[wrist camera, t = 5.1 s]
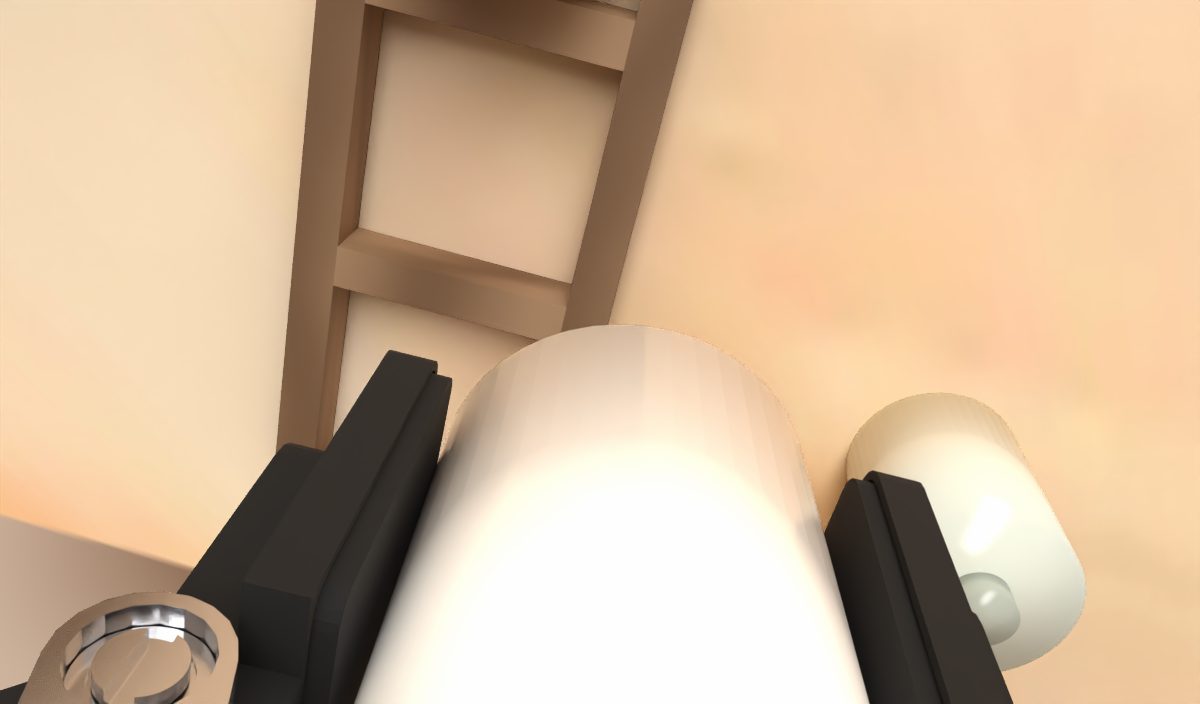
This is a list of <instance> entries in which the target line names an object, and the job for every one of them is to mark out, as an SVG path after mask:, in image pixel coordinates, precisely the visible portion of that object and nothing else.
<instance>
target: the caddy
mask: <svg viewBox="0 0 1200 704" xmlns="http://www.w3.org/2000/svg"><path fill="white" fill-rule="evenodd" d="M692 3H693V0H640V4H639V8H638V12H635V11H632V10H628V9H624V8H620V7H617V6H613V5H609V4H605V3H601V2H598V1H594V0H316V10H315V22H314V33H313V44H312V55H311V66H310V78H309V89H308V100H307V111H306V122H305V133H304V145H303V156H302V167H301V178H300V189H299V200H298V212H297V223H296V234H295V245H294V256H293V267H292V279H291V290H290V301H289V312H288V323H287V334H286V346H285V357H284V368H283V379H282V390H281V401H280V413H279V424H278V435H277V446H276V453H277V452H278V451H279V450H280V449H281V447H282V446H283V445H284V444H287V443H294V444H298V445H302V446H306V447H311V448H315V449H319V450H323V451H325V450H326V448H327V446H328V445H329V443H330V442H331V440H332V435H333V427H334V419H335V411H336V402H337V394H338V386H339V378H340V370H341V361H342V353H343V345H344V337H345V328H346V320H347V312H348V304H349V296H350V290H352V291H356V292H359V293H363V294H367V295H371V296H375V297H378V298H382V299H386V300H390V301H393V302H397V303H401V304H405V305H408V306H412V307H416V308H420V309H423V310H427V311H431V312H435V313H439V314H442V315H446V316H450V317H454V318H457V319H461V320H465V321H469V322H472V323H476V324H480V325H484V326H487V327H491V328H495V329H499V330H502V331H506V332H510V333H514V334H518V335H521V336H525V337H529V338H533V339H536V340H541V339H543V338H546V337H550V336H553V335H556V334H559V333H562V332H565V331H569V330H574V329H579V328H585V327H590V326H600V325H607V324H608V321H609V317H610V313H611V309H612V306H613V302H614V298H615V294H616V290H617V287H618V283H619V279H620V275H621V272H622V268H623V264H624V260H625V256H626V253H627V249H628V245H629V241H630V238H631V234H632V230H633V226H634V222H635V219H636V215H637V211H638V207H639V204H640V200H641V196H642V192H643V188H644V185H645V181H646V177H647V173H648V170H649V166H650V162H651V158H652V154H653V151H654V147H655V143H656V139H657V135H658V132H659V128H660V124H661V120H662V117H663V113H664V109H665V105H666V101H667V98H668V94H669V90H670V86H671V83H672V79H673V75H674V71H675V67H676V64H677V60H678V56H679V52H680V49H681V45H682V41H683V37H684V33H685V30H686V26H687V22H688V18H689V15H690V11H691V7H692ZM384 8H386V9H389V10H393V11H397V12H401V13H404V14H408V15H412V16H416V17H420V18H423V19H427V20H431V21H435V22H438V23H442V24H446V25H450V26H454V27H457V28H461V29H465V30H469V31H472V32H476V33H480V34H484V35H487V36H491V37H495V38H499V39H503V40H506V41H510V42H514V43H518V44H521V45H525V46H529V47H533V48H537V49H540V50H544V51H548V52H552V53H555V54H559V55H563V56H567V57H570V58H574V59H578V60H582V61H586V62H589V63H593V64H597V65H601V66H604V67H608V68H612V69H616V70H620V71H623V75H622V79H621V83H620V87H619V91H618V95H617V100H616V104H615V108H614V112H613V116H612V120H611V125H610V129H609V133H608V137H607V141H606V145H605V150H604V154H603V158H602V162H601V166H600V170H599V175H598V179H597V183H596V187H595V191H594V195H593V200H592V204H591V208H590V212H589V216H588V220H587V225H586V229H585V233H584V237H583V241H582V245H581V250H580V254H579V258H578V262H577V266H576V270H575V275H574V279H573V283H572V284H568V283H564V282H561V281H557V280H553V279H549V278H546V277H542V276H538V275H534V274H531V273H527V272H523V271H519V270H515V269H512V268H508V267H504V266H500V265H497V264H493V263H489V262H485V261H482V260H478V259H474V258H470V257H467V256H463V255H459V254H455V253H451V252H448V251H444V250H440V249H436V248H433V247H429V246H425V245H421V244H418V243H414V242H410V241H406V240H402V239H399V238H395V237H391V236H387V235H384V234H380V233H376V232H372V231H369V230H365V229H361V228H358V222H359V213H360V205H361V197H362V189H363V180H364V172H365V164H366V156H367V147H368V139H369V131H370V123H371V115H372V106H373V98H374V90H375V82H376V73H377V65H378V57H379V49H380V41H381V32H382V24H383V16H384Z"/></svg>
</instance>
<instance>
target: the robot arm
mask: <svg viewBox="0 0 1200 704" xmlns="http://www.w3.org/2000/svg"><path fill="white" fill-rule="evenodd" d="M437 369H438V364H437V361H433V360H429V359H425V358H421V357H417V356H413V355H409V354H405V353H401V352H397V351H393V350H389V351H388V352H387V353H386V355H385V356H384V358H383V360H382V361H381V363H380V364H379V366H378V368H377V369H376V371H375V372H374V374H373V375H372V377H371V379H370V380H369V382H368V383H367V385H366V386H365V388H364V390H363V391H362V393H361V394H360V396H359V398H358V399H357V401H356V402H355V404H354V405H353V407H352V409H351V410H350V412H349V413H348V415H347V416H346V418H345V420H344V421H343V423H342V424H341V426H340V428H339V429H338V431H337V432H336V434H335V435H334V437H333V439H332V440H331V442H330V443H329V445H328V446H327V448H326V450H325V451H323V450H319V449H315V448H311V447H306V446H302V445H298V444H294V443H287V444H284V445H283V446H282V447H281V449H280V450H279V451H278V452H277V453H276V455H275V456H274V457H273V459H272V460H271V462H270V463H269V464H268V466H267V467H266V469H265V470H264V471H263V473H262V474H261V476H260V477H259V478H258V480H257V481H256V483H255V484H254V485H253V487H252V488H251V490H250V491H249V492H248V494H247V495H246V497H245V498H244V499H243V501H242V502H241V504H240V505H239V506H238V508H237V509H236V511H235V512H234V513H233V515H232V516H231V518H230V519H229V520H228V522H227V523H226V525H225V526H224V527H223V529H222V530H221V532H220V533H219V534H218V536H217V537H216V539H215V540H214V541H213V543H212V544H211V546H210V547H209V548H208V550H207V551H206V553H205V554H204V555H203V557H202V558H201V560H200V561H199V562H198V564H197V565H196V567H195V568H194V569H193V571H192V572H191V574H190V575H189V576H188V578H187V579H186V581H185V582H184V584H183V585H182V586H181V588H180V589H179V590H178V592H177V593H176V594H175V593H169V592H141V593H132V594H128V595H124V596H119V597H116V598H111V599H107V600H104V601H102V602H100V603H98V604H96V605H94V606H91V607H89V608H87V609H85V610H83V611H81V612H79V613H77V614H76V615H75V616H74V617H72V618H71V619H70V620H68V621H67V622H66V623H65V624H63V625H62V626H61V627H60V628H58V629H57V630H56V631H55V633H54V634H53V636H52V637H51V639H50V640H49V642H48V643H47V644H46V646H45V647H44V649H43V650H42V652H41V654H40V656H39V658H38V660H37V663H36V665H35V667H34V669H33V671H32V673H31V676H30V678H29V680H28V682H25V683H22V684H19V685H16V686H13V687H10V688H7V689H4V690H0V704H354V703H355V700H356V697H357V694H358V691H359V688H360V686H361V683H362V680H363V677H364V674H365V671H366V668H367V665H368V663H369V660H370V657H371V654H372V651H373V648H374V645H375V642H376V639H377V637H378V634H379V631H380V628H381V625H382V622H383V619H384V616H385V614H386V611H387V608H388V605H389V602H390V599H391V596H392V593H393V591H394V588H395V585H396V582H397V579H398V576H399V573H400V570H401V567H402V565H403V562H404V559H405V556H406V553H407V550H408V547H409V544H410V542H411V539H412V536H413V533H414V530H415V527H416V524H417V521H418V518H419V516H420V513H421V510H422V507H423V504H424V501H425V498H426V495H427V493H428V490H429V487H430V484H431V481H432V478H433V475H434V472H435V470H436V467H437V462H438V457H439V452H440V446H441V441H442V436H443V431H444V425H445V420H446V415H447V410H448V404H449V399H450V394H451V388H452V378H449V377H445V376H441V375H437ZM824 536H825V539H826V543H827V547H828V551H829V554H830V558H831V562H832V565H833V569H834V573H835V577H836V580H837V584H838V588H839V592H840V595H841V599H842V603H843V606H844V610H845V614H846V618H847V621H848V625H849V629H850V633H851V636H852V640H853V644H854V648H855V651H856V655H857V659H858V662H859V666H860V670H861V674H862V677H863V681H864V685H865V689H866V692H867V696H868V700H869V703H870V704H1013V701H1012V699H1011V696H1010V694H1009V691H1008V689H1007V686H1006V684H1005V681H1004V678H1003V676H1002V673H1001V671H1000V668H999V666H998V663H997V661H996V658H995V656H994V653H993V650H992V648H991V645H990V643H989V640H988V638H987V635H986V633H985V630H984V628H983V625H982V623H981V621H980V620H979V618H978V616H977V615H976V614H975V613H974V612H972V610H971V607H970V605H969V602H968V600H967V597H966V594H965V592H964V589H963V587H962V584H961V582H960V579H959V576H958V574H957V571H956V569H955V566H954V563H953V561H952V558H951V556H950V553H949V550H948V548H947V545H946V543H945V540H944V537H943V535H942V532H941V530H940V527H939V525H938V522H937V519H936V517H935V514H934V512H933V509H932V506H931V504H930V501H929V499H928V496H927V493H926V491H925V488H924V487H923V485H922V483H920V482H918V481H914V480H910V479H906V478H902V477H898V476H894V475H890V474H886V473H882V472H878V471H874V470H872V471H870V472H868V473H867V474H866V476H865V477H864V478H863V480H859V479H855V478H852V479H850V480H849V481H848V482H847V483H846V485H845V487H844V489H843V491H842V494H841V496H840V498H839V501H838V503H837V505H836V507H835V510H834V512H833V514H832V517H831V519H830V521H829V524H828V526H827V528H826V530H825V533H824Z"/></svg>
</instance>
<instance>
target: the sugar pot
mask: <svg viewBox="0 0 1200 704" xmlns="http://www.w3.org/2000/svg"><path fill="white" fill-rule="evenodd" d="M872 470H874V471H878V472H882V473H886V474H890V475H894V476H898V477H902V478H906V479H910V480H914V481H918V482H920V483H922V485H923V487H924V488H925V491H926V493H927V496H928V499H929V501H930V504H931V506H932V509H933V512H934V514H935V517H936V519H937V522H938V525H939V527H940V530H941V532H942V535H943V537H944V540H945V543H946V545H947V548H948V550H949V553H950V556H951V558H952V561H953V563H954V566H955V569H956V571H957V574H958V576H959V579H960V582H961V584H962V587H963V589H964V592H965V594H966V597H967V600H968V602H969V605H970V607H971V610H972V612H974V613H975V614H976V615H977V616H978V618H979V620H980V621H981V623H982V625H983V628H984V630H985V633H986V635H987V638H988V640H989V643H990V645H991V648H992V650H993V653H994V656H995V658H996V661H997V663H998V666H999V668H1000V671H1006V670H1009V669H1013V668H1016V667H1019V666H1022V665H1024V664H1027V663H1029V662H1031V661H1033V660H1035V659H1037V658H1039V657H1041V656H1043V655H1044V654H1046V653H1047V652H1049V651H1050V650H1052V649H1053V648H1054V647H1055V646H1057V645H1058V644H1059V643H1060V642H1061V641H1062V640H1063V639H1064V638H1065V637H1066V636H1067V635H1068V634H1069V633H1070V631H1071V630H1072V628H1073V627H1074V626H1075V624H1076V622H1077V620H1078V619H1079V617H1080V615H1081V612H1082V609H1083V606H1084V602H1085V596H1086V582H1085V577H1084V572H1083V570H1082V567H1081V565H1080V562H1079V560H1078V558H1077V556H1076V554H1075V552H1074V550H1073V549H1072V547H1071V545H1070V543H1069V541H1068V539H1067V537H1066V535H1065V533H1064V531H1063V529H1062V527H1061V525H1060V523H1059V522H1058V520H1057V518H1056V516H1055V514H1054V512H1053V510H1052V508H1051V506H1050V504H1049V502H1048V500H1047V498H1046V496H1045V495H1044V493H1043V491H1042V489H1041V487H1040V485H1039V483H1038V481H1037V479H1036V477H1035V475H1034V473H1033V471H1032V469H1031V468H1030V466H1029V464H1028V462H1027V460H1026V458H1025V456H1024V454H1023V452H1022V450H1021V448H1020V446H1019V444H1018V442H1017V441H1016V439H1015V437H1014V435H1013V433H1012V431H1011V429H1010V428H1009V426H1008V425H1007V423H1006V422H1005V421H1004V420H1003V419H1002V417H1001V416H1000V415H998V414H997V413H996V412H995V411H994V410H993V409H991V408H989V407H988V406H986V405H985V404H983V403H981V402H979V401H977V400H974V399H971V398H968V397H965V396H961V395H956V394H949V393H927V394H920V395H915V396H911V397H907V398H904V399H902V400H899V401H896V402H894V403H892V404H890V405H888V406H886V407H885V408H883V409H882V410H880V411H878V412H877V413H876V414H875V415H873V416H872V417H871V418H870V419H869V420H868V421H867V422H866V423H865V424H864V425H863V426H862V427H861V428H860V430H859V431H858V433H857V434H856V436H855V438H854V439H853V441H852V443H851V446H850V449H849V452H848V456H847V462H846V473H847V480H848V481H849V480H850V479H852V478H855V479H859V480H863V478H864V477H865V476H866V474H867V473H868V472H870V471H872Z"/></svg>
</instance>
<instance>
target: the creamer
mask: <svg viewBox="0 0 1200 704" xmlns="http://www.w3.org/2000/svg"><path fill="white" fill-rule="evenodd" d="M354 704H870V703H869V700H868V696H867V692H866V689H865V685H864V681H863V677H862V674H861V670H860V666H859V662H858V659H857V655H856V651H855V648H854V644H853V640H852V636H851V633H850V629H849V625H848V621H847V618H846V614H845V610H844V606H843V603H842V599H841V595H840V592H839V588H838V584H837V580H836V577H835V573H834V569H833V565H832V562H831V558H830V554H829V551H828V547H827V543H826V539H825V536H824V532H823V528H822V524H821V521H820V517H819V513H818V509H817V506H816V502H815V498H814V495H813V491H812V487H811V483H810V480H809V476H808V472H807V468H806V465H805V461H804V457H803V454H802V450H801V446H800V443H799V440H798V437H797V434H796V431H795V428H794V426H793V424H792V422H791V420H790V418H789V416H788V414H787V412H786V410H785V409H784V407H783V406H782V404H781V403H780V402H779V400H778V399H777V397H776V396H775V395H774V393H773V392H772V391H771V389H770V388H769V387H768V386H767V385H766V384H765V383H764V382H763V381H762V380H761V379H760V378H759V377H758V376H757V375H756V374H755V373H754V372H752V371H751V370H750V369H749V368H747V367H746V366H745V365H744V364H742V363H741V362H740V361H739V360H737V359H735V358H734V357H732V356H730V355H729V354H727V353H725V352H724V351H722V350H720V349H719V348H717V347H715V346H713V345H710V344H708V343H706V342H703V341H701V340H699V339H697V338H694V337H691V336H688V335H685V334H681V333H678V332H674V331H671V330H667V329H661V328H655V327H649V326H641V325H622V324H615V325H600V326H590V327H585V328H579V329H574V330H569V331H565V332H562V333H559V334H556V335H553V336H550V337H546V338H543V339H541V340H539V341H537V342H535V343H533V344H530V345H528V346H526V347H524V348H522V349H520V350H519V351H517V352H516V353H514V354H512V355H511V356H509V357H508V358H506V359H504V360H503V361H501V362H500V363H499V364H498V365H497V366H496V367H494V368H493V369H492V370H491V371H490V372H488V373H487V374H486V375H485V376H484V377H483V378H482V379H481V380H480V381H479V383H478V384H477V385H476V386H475V387H474V388H473V389H472V390H471V392H470V393H469V394H468V396H467V397H466V399H465V400H464V402H463V403H462V405H461V407H460V408H459V410H458V412H457V414H456V416H455V418H454V420H453V423H452V425H451V427H450V429H449V432H448V435H447V438H446V441H445V444H444V446H443V449H442V452H441V455H440V458H439V461H438V464H437V467H436V470H435V472H434V475H433V478H432V481H431V484H430V487H429V490H428V493H427V495H426V498H425V501H424V504H423V507H422V510H421V513H420V516H419V518H418V521H417V524H416V527H415V530H414V533H413V536H412V539H411V542H410V544H409V547H408V550H407V553H406V556H405V559H404V562H403V565H402V567H401V570H400V573H399V576H398V579H397V582H396V585H395V588H394V591H393V593H392V596H391V599H390V602H389V605H388V608H387V611H386V614H385V616H384V619H383V622H382V625H381V628H380V631H379V634H378V637H377V639H376V642H375V645H374V648H373V651H372V654H371V657H370V660H369V663H368V665H367V668H366V671H365V674H364V677H363V680H362V683H361V686H360V688H359V691H358V694H357V697H356V700H355V703H354Z"/></svg>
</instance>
